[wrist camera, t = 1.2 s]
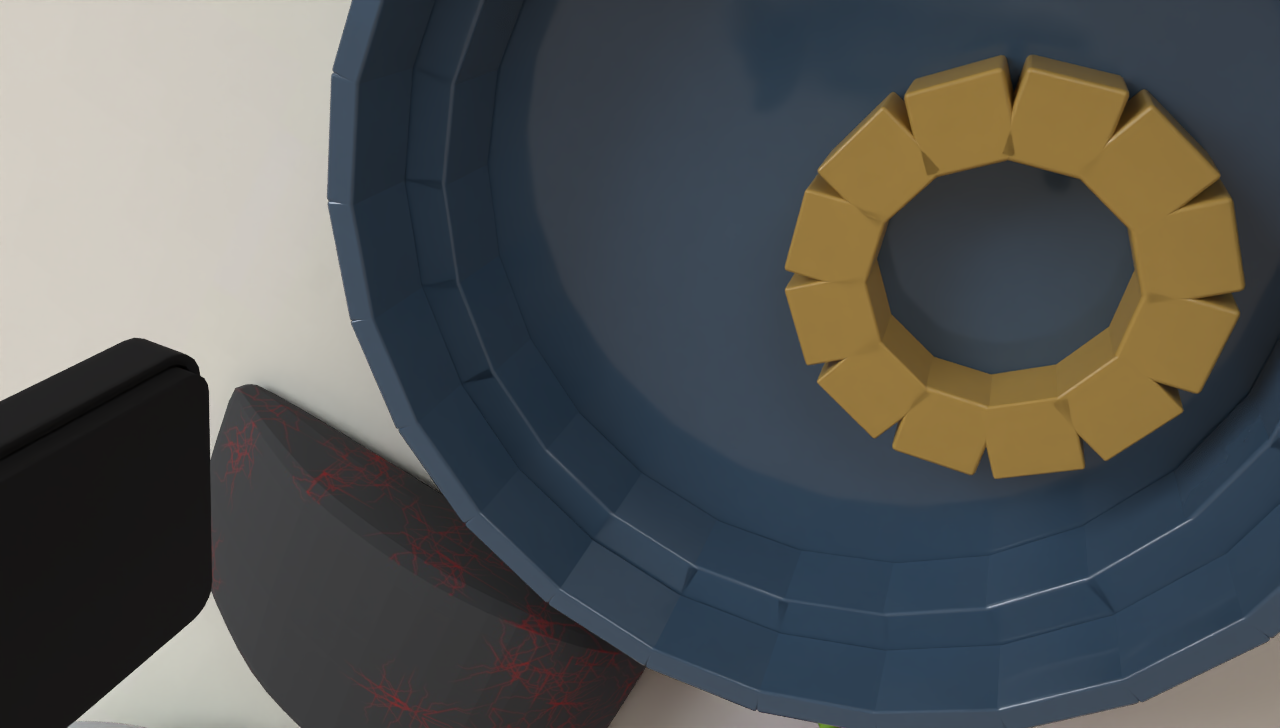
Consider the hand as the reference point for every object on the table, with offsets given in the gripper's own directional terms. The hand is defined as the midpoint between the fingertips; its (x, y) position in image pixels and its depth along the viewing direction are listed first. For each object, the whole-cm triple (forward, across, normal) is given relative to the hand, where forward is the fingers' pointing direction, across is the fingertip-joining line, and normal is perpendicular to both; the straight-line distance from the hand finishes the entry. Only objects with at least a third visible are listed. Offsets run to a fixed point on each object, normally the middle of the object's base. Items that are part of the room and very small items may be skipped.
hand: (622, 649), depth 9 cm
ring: (+14, -3, 0) cm, 14 cm away
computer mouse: (+14, +9, +14) cm, 22 cm away
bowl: (+14, 0, 0) cm, 14 cm away
